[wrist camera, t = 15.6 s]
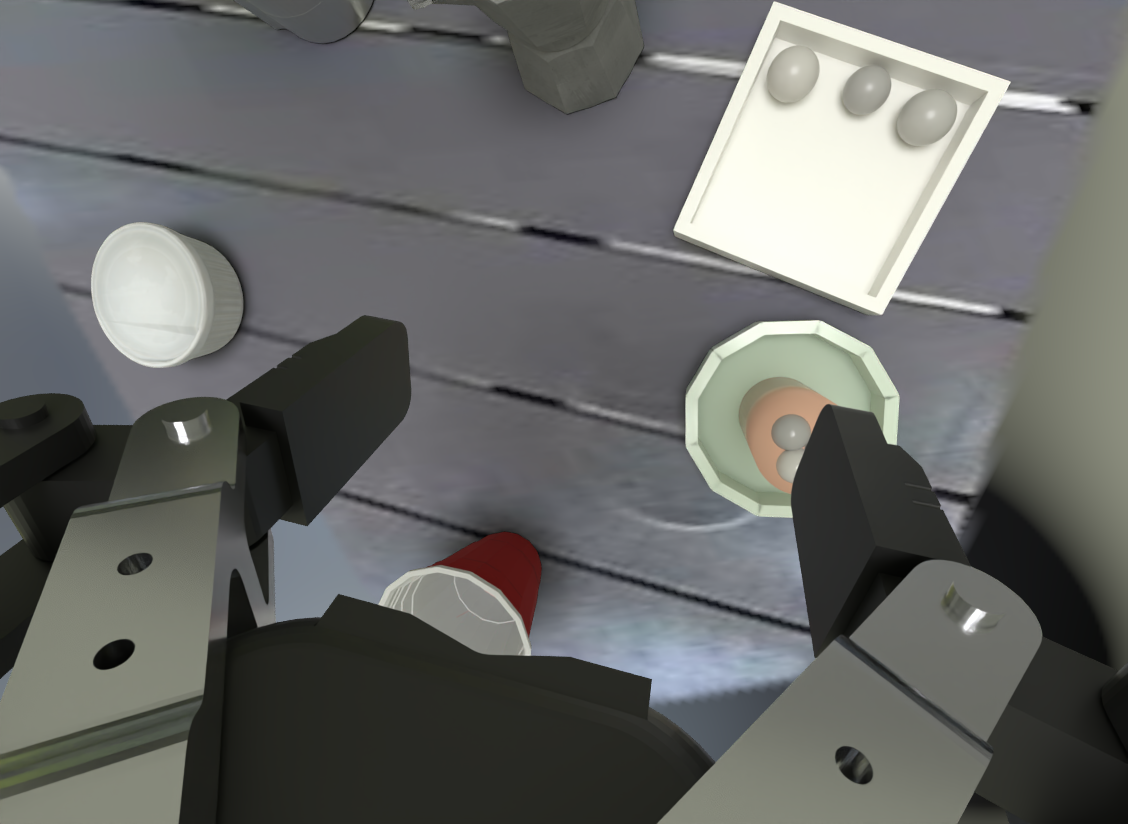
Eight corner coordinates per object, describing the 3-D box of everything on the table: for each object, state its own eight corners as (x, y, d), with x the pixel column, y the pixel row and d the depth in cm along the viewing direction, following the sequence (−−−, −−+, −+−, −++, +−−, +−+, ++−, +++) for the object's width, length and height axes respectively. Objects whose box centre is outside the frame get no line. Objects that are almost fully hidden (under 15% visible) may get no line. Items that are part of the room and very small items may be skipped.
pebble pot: (737, 451, 41) (753, 499, 30) (739, 376, 40) (756, 399, 29) (818, 453, 39) (864, 503, 29) (821, 376, 39) (869, 399, 28)
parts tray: (674, 236, 40) (672, 228, 36) (767, 26, 36) (775, -6, 33) (867, 315, 38) (885, 315, 34) (984, 101, 34) (1018, 75, 31)
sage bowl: (686, 497, 43) (685, 513, 39) (686, 323, 40) (685, 324, 37) (874, 504, 40) (891, 521, 36) (885, 317, 38) (904, 317, 34)
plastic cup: (434, 596, 49) (354, 683, 37) (465, 484, 47) (390, 541, 35) (549, 646, 47) (503, 753, 36) (588, 532, 45) (551, 608, 33)
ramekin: (189, 383, 51) (133, 391, 46) (128, 272, 51) (65, 268, 45) (278, 325, 48) (229, 327, 43) (214, 207, 48) (157, 194, 42)
